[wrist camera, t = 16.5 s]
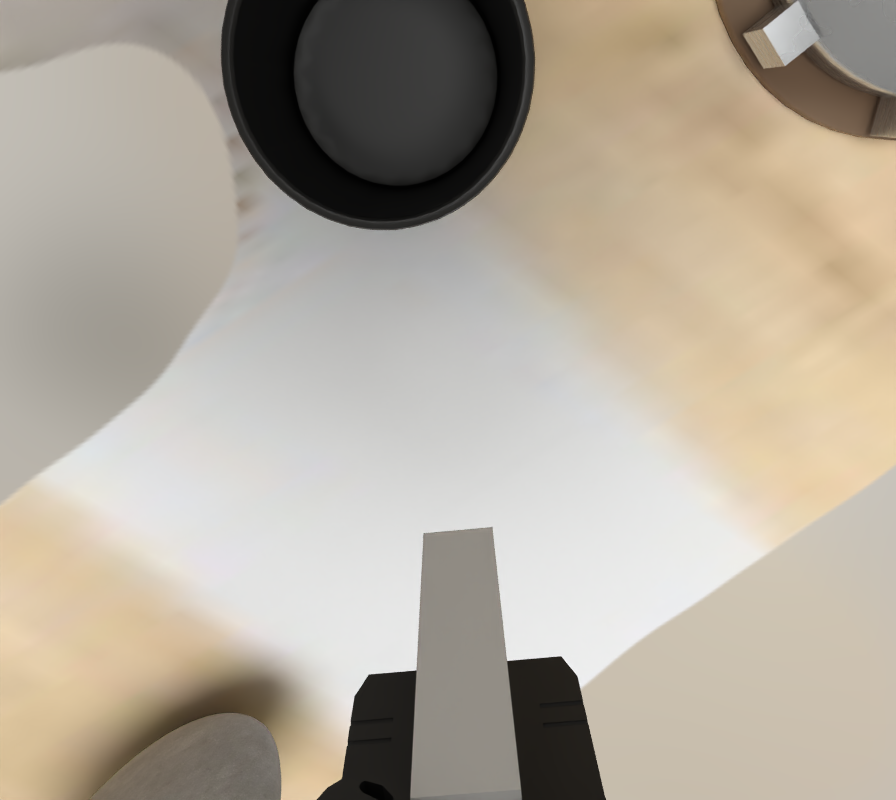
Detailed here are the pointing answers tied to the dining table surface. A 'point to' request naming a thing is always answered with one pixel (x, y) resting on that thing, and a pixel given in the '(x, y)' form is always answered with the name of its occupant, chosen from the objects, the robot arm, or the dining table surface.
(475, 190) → the mug
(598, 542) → the dining table surface
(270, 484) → the dining table surface
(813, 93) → the sprocket base
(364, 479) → the dining table surface
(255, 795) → the grey flattened round ornament
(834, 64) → the sprocket
